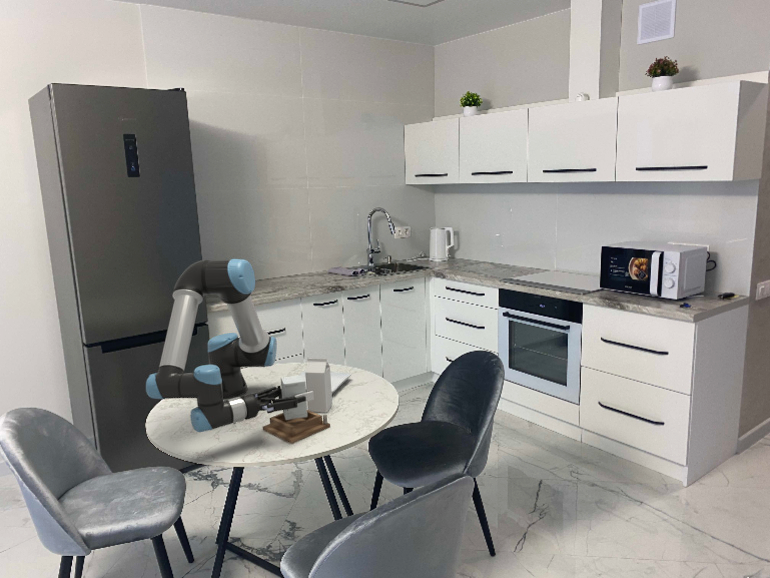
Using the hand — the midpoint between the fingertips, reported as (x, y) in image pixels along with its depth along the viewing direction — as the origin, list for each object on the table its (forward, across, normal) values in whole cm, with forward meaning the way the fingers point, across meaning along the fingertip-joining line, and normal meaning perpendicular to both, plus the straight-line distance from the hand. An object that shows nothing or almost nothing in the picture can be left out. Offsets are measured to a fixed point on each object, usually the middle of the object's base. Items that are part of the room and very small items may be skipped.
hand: (306, 391), depth 195 cm
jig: (-4, 0, -12) cm, 13 cm away
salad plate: (+21, -30, -12) cm, 39 cm away
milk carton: (+10, -10, -12) cm, 19 cm away
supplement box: (-5, 0, -7) cm, 9 cm away
